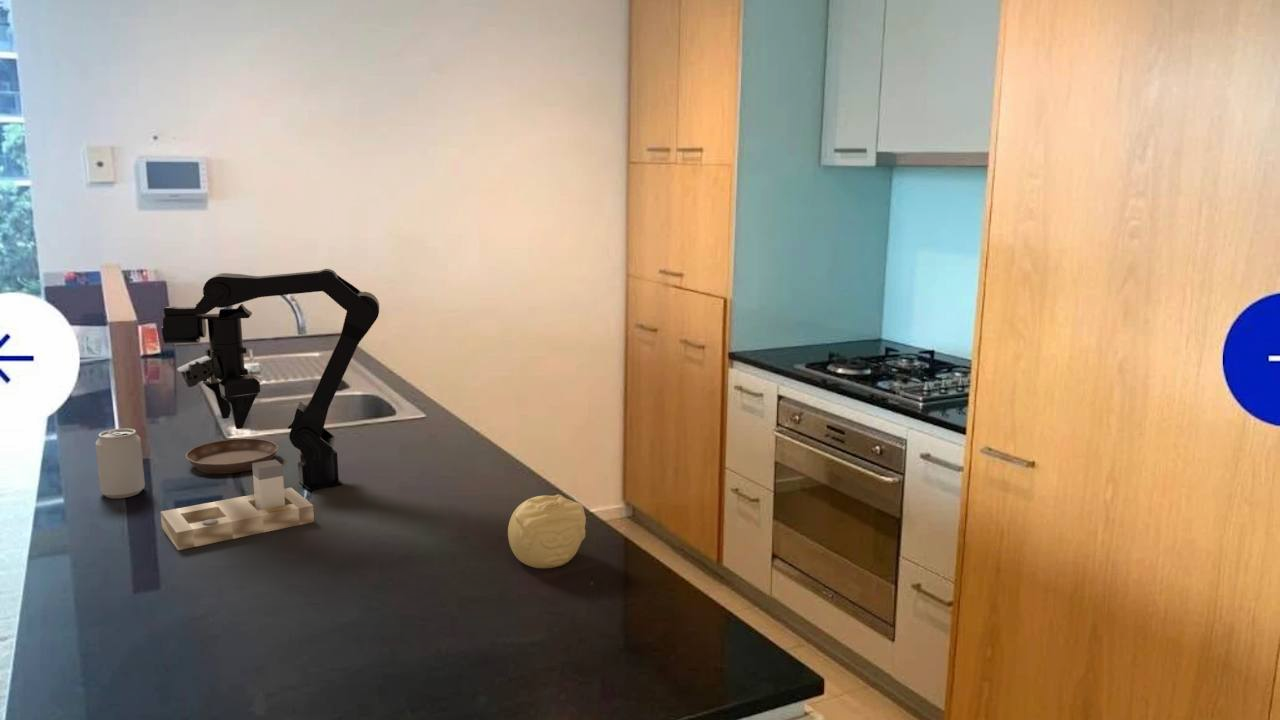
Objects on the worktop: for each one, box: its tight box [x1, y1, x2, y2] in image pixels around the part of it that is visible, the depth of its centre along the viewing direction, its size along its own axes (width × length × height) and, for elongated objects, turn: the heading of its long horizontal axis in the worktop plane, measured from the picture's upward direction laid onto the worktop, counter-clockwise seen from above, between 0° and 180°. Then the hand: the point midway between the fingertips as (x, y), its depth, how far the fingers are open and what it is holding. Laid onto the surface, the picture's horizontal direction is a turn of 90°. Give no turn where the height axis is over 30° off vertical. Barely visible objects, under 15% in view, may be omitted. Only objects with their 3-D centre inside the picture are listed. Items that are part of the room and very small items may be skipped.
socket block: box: [160, 487, 315, 551], centre depth 170 cm, size 22×12×3 cm, turn 127°
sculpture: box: [507, 493, 587, 569], centre depth 155 cm, size 12×12×11 cm
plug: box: [252, 459, 285, 510], centre depth 172 cm, size 4×4×10 cm
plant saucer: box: [185, 438, 279, 474], centre depth 205 cm, size 18×18×3 cm
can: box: [94, 428, 146, 499], centre depth 185 cm, size 8×8×12 cm
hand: (232, 423), depth 186 cm, fingers open, 9 cm apart
